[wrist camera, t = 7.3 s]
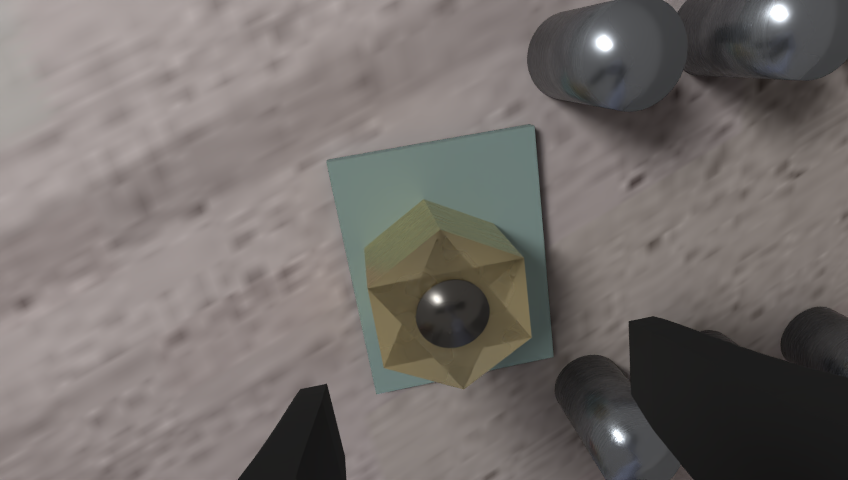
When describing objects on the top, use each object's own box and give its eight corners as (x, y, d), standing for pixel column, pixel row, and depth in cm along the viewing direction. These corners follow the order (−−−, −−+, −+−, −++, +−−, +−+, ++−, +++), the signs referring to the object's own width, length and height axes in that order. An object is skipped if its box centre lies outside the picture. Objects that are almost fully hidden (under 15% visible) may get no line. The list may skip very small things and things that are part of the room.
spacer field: (838, 358, 24) (945, 423, 19) (557, 419, 23) (605, 502, 18) (886, -41, 18) (1047, -71, 14) (523, 17, 17) (579, 4, 13)
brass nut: (504, 323, 20) (535, 375, 17) (384, 347, 20) (391, 406, 17) (489, 186, 18) (520, 215, 15) (356, 211, 18) (358, 245, 15)
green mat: (548, 350, 22) (553, 356, 21) (375, 386, 21) (376, 394, 20) (529, 124, 18) (534, 126, 18) (327, 159, 18) (326, 162, 18)
